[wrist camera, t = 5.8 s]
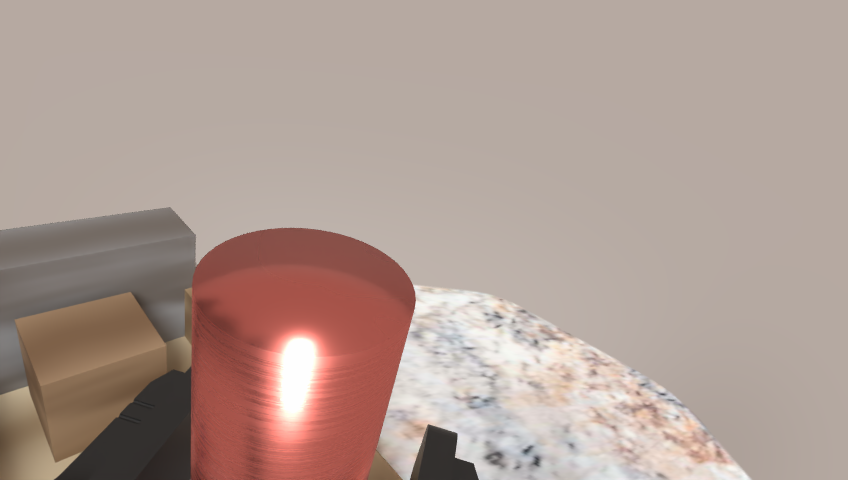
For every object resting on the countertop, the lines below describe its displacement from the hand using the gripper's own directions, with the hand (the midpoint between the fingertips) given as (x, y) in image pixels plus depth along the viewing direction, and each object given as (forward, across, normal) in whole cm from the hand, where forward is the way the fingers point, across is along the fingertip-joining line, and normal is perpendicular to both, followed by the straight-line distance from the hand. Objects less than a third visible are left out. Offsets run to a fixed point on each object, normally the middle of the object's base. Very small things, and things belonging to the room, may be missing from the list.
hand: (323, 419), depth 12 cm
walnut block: (+5, +11, +9) cm, 15 cm away
